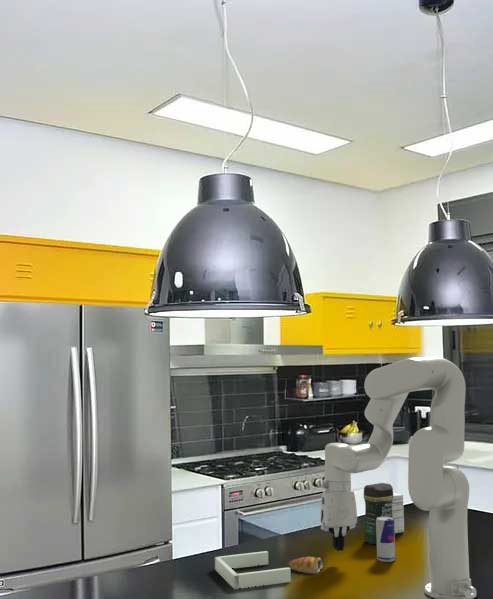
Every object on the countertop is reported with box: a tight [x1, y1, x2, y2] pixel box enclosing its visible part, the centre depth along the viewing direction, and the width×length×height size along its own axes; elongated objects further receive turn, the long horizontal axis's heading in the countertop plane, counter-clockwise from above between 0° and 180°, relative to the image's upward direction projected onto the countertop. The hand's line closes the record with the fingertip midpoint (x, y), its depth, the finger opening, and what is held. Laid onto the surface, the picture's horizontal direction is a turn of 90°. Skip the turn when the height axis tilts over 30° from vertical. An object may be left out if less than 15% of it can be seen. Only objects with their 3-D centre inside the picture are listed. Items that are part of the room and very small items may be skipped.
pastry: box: [288, 556, 323, 574], centre depth 202 cm, size 9×7×4 cm
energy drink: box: [376, 516, 397, 563], centre depth 210 cm, size 5×5×12 cm
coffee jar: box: [363, 482, 394, 545], centre depth 230 cm, size 10×8×19 cm
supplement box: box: [392, 491, 405, 534], centre depth 243 cm, size 7×7×13 cm
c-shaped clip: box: [214, 550, 292, 590], centre depth 197 cm, size 18×16×4 cm
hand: (338, 549), depth 206 cm, fingers closed
